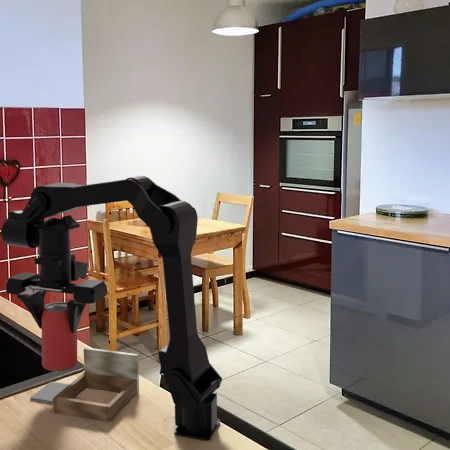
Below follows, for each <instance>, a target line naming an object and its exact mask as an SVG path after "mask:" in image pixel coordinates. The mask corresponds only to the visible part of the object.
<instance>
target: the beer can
mask: <svg viewBox="0 0 450 450" xmlns="http://www.w3.org/2000/svg"><path fill="white" fill-rule="evenodd" d="M67 302H68V301H66V302H65V301H62V302H60V301H56V302H51V303H48V304H45V305H44V308H45V309H44V312H43V314H42V329H41V366H42V367H43V368H44V369H45V370H47V371H52V372H64V371H68V370H70V369H73V368H75V366H76V365H77V363H78V330H77V331H76V332H75V333H72V332H71V329H70V324H69V316H68V309H67Z"/></svg>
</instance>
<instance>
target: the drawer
mask: <svg viewBox="0 0 450 450" xmlns="http://www.w3.org/2000/svg"><path fill="white" fill-rule="evenodd" d="M83 367H84V368H83V369H84V371H83V372H82V374H80V375H79V376H78V377H76V379H74V380H73V381H72V382H71V383H69V385H68V386H67V387H66V388H65V389H63V390H62V391H61V392H60V393H59V394H57V395H56V396H55V397H54V398H53V403H52V406H53V409H52V410H53V414H57V415H63V416H67V417H68V416H69V417H75V418H80V419H86V420H92V421H98V422H105V423H109V424H110V423H112V422H113V421H114V420H115V418H116V417H118V416H119V415H120V413H121V412H123V410H124V409H125V408H126V407H127V406H128V405H129V404H130V403H131V402H132V401H133V399H134V398H136V396H137V395H138V394H139V393H140V376H139V375H140V374H139V370H140V369H139V368H140V367H139V353H137V354H136V353H131V352H130V353H129V352H125V351H117V350H116V351H115V350H108V349H100V348H93V347H92V348H91V347H84V348H83ZM86 389H89V390H95V391H101V392H106V393H107V392H108V393H114V394H117V395H116V396H115V397H114V398H113V399H112V400H111V401H109V403H108V404H107V403H101V402H97V401H96V402H94V401H88V400H82V399H76V398H77V397H79V396H80V395H81V394H82V393H83V392H84V391H85V390H86Z"/></svg>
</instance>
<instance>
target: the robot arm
mask: <svg viewBox="0 0 450 450" xmlns="http://www.w3.org/2000/svg"><path fill="white" fill-rule="evenodd" d="M118 202H119V203H120V202H128V203H129V204H130V205H131V206H132V208H133V210H134V211H135V213H136V215H137V217H138V219H139V220H141V221H142V222H143V223H145V224H146V226H148V227H149V230H150V231H149V232H150V235H151V239H152V240H151V241H152V243H153V245H154V246H155V248H156V250H157V251H158V253H159V255H160V256H161V259H162V266H163V267H162V269H163V279H164V288H165V289H164V290H165V299H166V301H165V302H166V310H167V311H166V313H167V322H168V334H169V342H168V344H167V345H165V346H164V347H163V348H162V349H160V350H159V351H158V359H159V364H160V371H159V375H162V378H163V382H164V384H165V386H167V387H168V390H169V393H170V395H171V398H172V402H173V404H174V424H175V429H174V431H173V434H174V435H176V436H181V437H187V438H193V439H200V440H205V441H209V440H211V438H212V437H213V435H214V433H215V432H216V430H217V428H218V427H219V425H220V422H221V419H219V418H218V394H217V393H215V392H216V391H217V390H218V389H219V388H220V387H221V384H222V381H223V377H222V376H221V375H220V374H219V373H218V371H217V370H216V369H215V367H214V366H212V364H211V363H210V360H209V356H208V351H207V348H206V346H205V344H204V343H203V340H202V339H201V338H200V336H199V334H198V324H197V315H196V314H197V313H196V302H195V290H194V289H195V288H194V277H193V266H192V251H193V248H194V245H195V242H196V239H197V238H196V237H197V235H198V234H197V230H198V220H199V218H198V216H199V215H198V213H197V210H196V208H195V207H193V205H191V203H189V202H187V201H185V200H182V199H180V198H179V197H178V196H176V194H174V193H173V192H171V191H168V189H165V188H163V187H161V186H159V185H158V184H157V183H155V182H154V181H153V180H152V179H151V178H149V177H148V176H146V175H136V176H132V177H131V176H130V177H127V178H125V179H118V180H112V181H105V182H103V181H102V182H97V183H90V184H78V183H74V182H56V183H55V182H54V183H50V184H43V185H38V186H35V187H34V188H32V192H31V193H30V198H29V200H28V202H27V204H26V205H25V207H24V209H23V210H19V209H18V210H17V209H14V210H10V211H8V212H7V214H8V217H7V218H6V219H5V221H3V224H2V226H1V227H2V228H1V229H0V235H1V239H2V241H3V243H5V244H6V245H8V246H13V247H19V248H20V247H21V248H28V249H36V248H38V257H36V258H34V265H39V274H38V273H34V272H33V273H32V272H24V271H23V272H20V273H18V274H15V275H13V276H11V277H8V279H7V280H6V282H5V285H4V286H5V293H6V294H8V295H16V298H17V300H21V302H22V303H23V304H24V306H25V308H26V309H27V311H29V313H30V314H31V316H32V318H33V319H34V321H35V323H36V324H37V326H38V328H39V329H41V330H42V314H43V312H44V309H45V308H44V307H45V297H46V294H47V292H54V293H59V294H60V293H61V294H69V295H72V299H70V300H69V301H66V302H67V309H68V316H69V324H70V329H71V332H72V333H75V332H76V331H77V332H78V327H79V325H80V324H79V323H80V322H81V319H82V315H83V313H84V310H85V308H86V306H87V304H94V303H97V302H99V301H100V300H102V299H103V298H104V297H105V298H106V296H108V285H107V284H106V283H105V281H104V280H97V279H87V274H88V267H89V263H88V262H83V261H77V260H76V255H75V253H71V252H72V251H71V230H75V229H78V228H80V227H81V226H80V225H81V224H80V223H79V222H78V221H77V220H75V219H74V218H73V217H72V215H71V214H69V215H64V216H62V217H61V218H57V217H56V216H57V215H61V214H67V213H69V212H72V211H75V210H78V209H80V208H82V207H87V206H96V205H103V204H112V203H118ZM45 219H47V220H46V221H45ZM79 278H80V279H82V280H84V281H82V282H80V283H73V282H76V281H79Z"/></svg>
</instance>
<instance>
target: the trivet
mask: <svg viewBox="0 0 450 450" xmlns="http://www.w3.org/2000/svg"><path fill="white" fill-rule="evenodd" d="M69 384H70V383H69ZM69 384H68V383H62V382H57V381H50V382H48V383H47V384H46V385H44V386H42V388H40V389H39V390H38V391H37V392H35V393H34V394H32V396H30V398H29V399H30V400H31V401H36V402H41V403H47V404H53V398H54V397H55V396H56V395H57V394H59V393H60V392H61V391H62V390H63V389H65V388H66V387H67V386H68V385H69Z"/></svg>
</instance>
